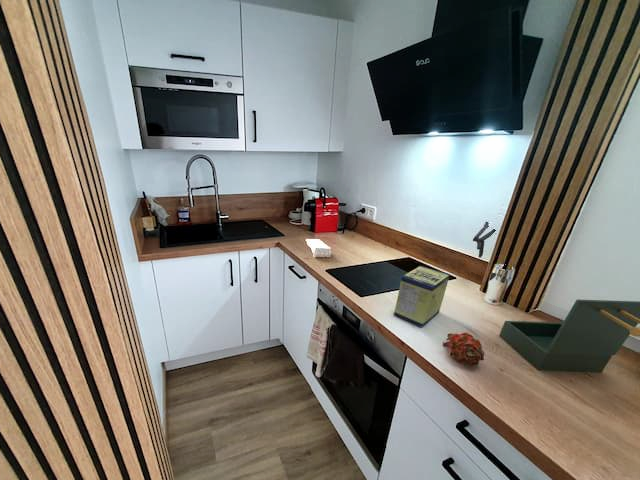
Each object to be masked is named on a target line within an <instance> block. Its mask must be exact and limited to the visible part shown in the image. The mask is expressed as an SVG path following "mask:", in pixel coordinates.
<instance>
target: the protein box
mask: <svg viewBox="0 0 640 480" xmlns="http://www.w3.org/2000/svg"><path fill="white" fill-rule="evenodd" d="M450 275H451V274H449V273H446V272H444V271H439V270H436V269H433V268H429V267H426V266H423V265H419V266H418V267H416V268H415V269H413V270H411V271H409V272H407V273H405V274H404V275H402V276H401V279H400V285H399V289H398V293H397V298H396V303H395V306H394V312H393V316H395V317H396V318H399V319H400V320H401V319H402V320H404V321H406V322H409V323H411V324H412V325H415V326H418V327H419V328H424V326H426V325H427V324H428V323H429V322H430V321H431V320H432V319H434V318H435V317H436V316H437V315H439V313H440V311H441V308H442V304H443V300H444V297H445V293H446V290H447V287H448V283H449V280H450Z"/></svg>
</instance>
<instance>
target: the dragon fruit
mask: <svg viewBox="0 0 640 480" xmlns="http://www.w3.org/2000/svg"><path fill="white" fill-rule="evenodd" d="M445 341H446V342H445ZM445 341H442V347H443V348H447V349H448V350H450V352H449V356H450V357H451V358H454V359H457V360H458V361H459V363H462V364H465V365H467V364H470V365H471V366H473V367H475V366H479V364H480V361H485V352H484V350H483V345H482V343H481V342H480V340H479V339H477V338H475V337H474V336H473V335H472V334H471V333H468V332H465V331H463V332H462V333H461V334H460V333H456V332H455V333H453V332H450V333H448V334H447V338H446V339H445Z"/></svg>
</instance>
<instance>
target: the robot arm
mask: <svg viewBox="0 0 640 480" xmlns="http://www.w3.org/2000/svg"><path fill="white" fill-rule="evenodd" d="M487 221H488V220H487ZM487 221H485V222H484V224H483V226H484V227H483V226H482V228H480V230H479V231H478V232H477V233H476V234H475V235H474V237H473V239H472V242H476V250H478V258H479V259H480V258H482V257H483V255H484V249H485V248H484V247H485V241H486V240H487V239H489V238H491V237H492V236H493V235H492V234H493V233H494V232H495V231H496V230H495V229H491V230H490V231H489V232H487V233H485V232H486V230H487V229H489V228H490V227H489V225H490V224H489V223H490V222H489V221H488V222H489V223H488V222H487ZM488 227H489V228H488ZM484 233H485V234H484ZM483 234H484V235H483ZM482 235H483V236H482ZM491 235H492V236H491Z"/></svg>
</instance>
